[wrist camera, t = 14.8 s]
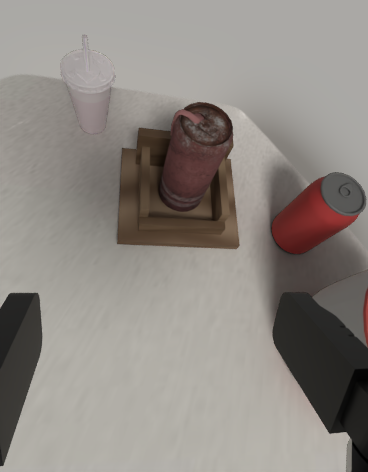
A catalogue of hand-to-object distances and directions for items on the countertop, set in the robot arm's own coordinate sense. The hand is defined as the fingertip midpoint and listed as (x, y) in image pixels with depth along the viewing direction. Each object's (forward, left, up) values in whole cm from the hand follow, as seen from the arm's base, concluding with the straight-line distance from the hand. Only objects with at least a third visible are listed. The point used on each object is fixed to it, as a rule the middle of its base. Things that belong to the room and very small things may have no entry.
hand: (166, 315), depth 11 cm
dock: (-12, +18, -28) cm, 35 cm away
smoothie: (-29, +16, -28) cm, 43 cm away
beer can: (+2, +28, -28) cm, 40 cm away
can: (-12, +18, -27) cm, 34 cm away
